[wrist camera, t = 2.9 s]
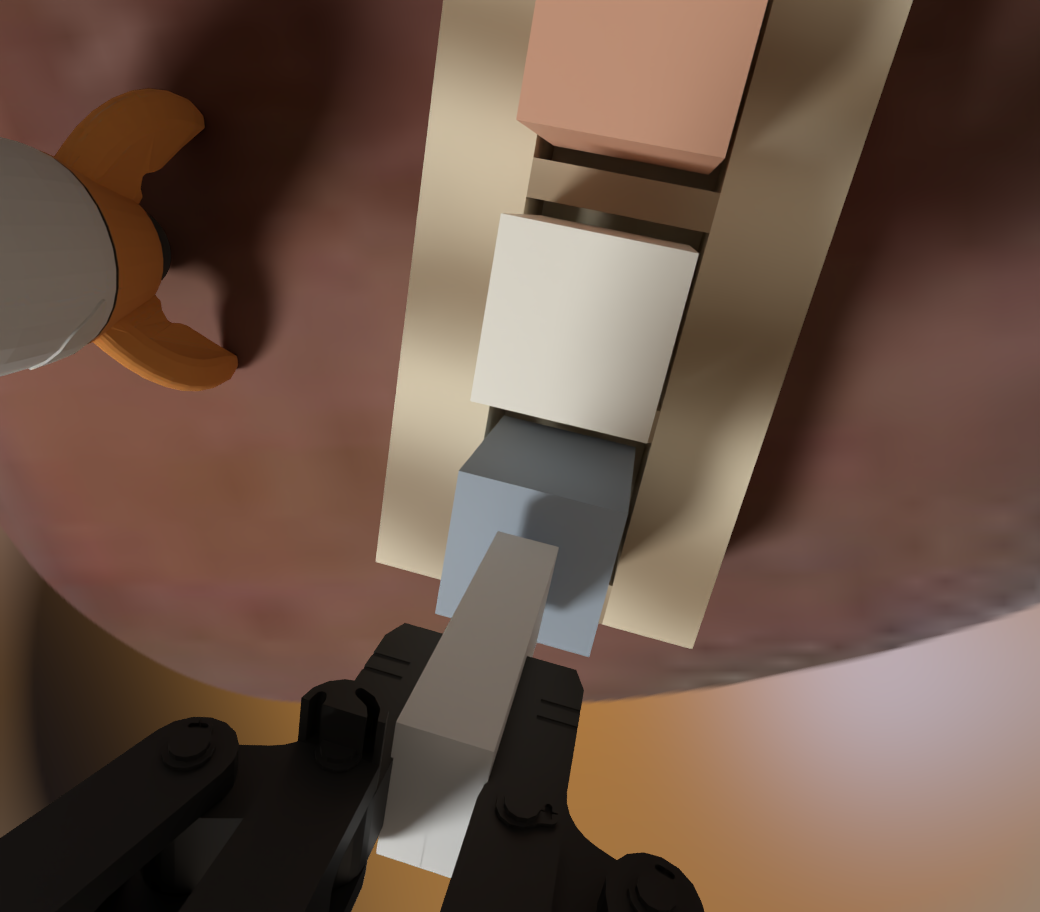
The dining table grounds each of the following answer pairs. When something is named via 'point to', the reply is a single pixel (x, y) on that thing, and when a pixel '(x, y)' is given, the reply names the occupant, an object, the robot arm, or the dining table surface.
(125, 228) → the toy rocket
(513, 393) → the key ivory
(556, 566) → the grey block
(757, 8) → the key terracotta
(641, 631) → the beige cube tray
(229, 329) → the dining table surface
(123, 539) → the dining table surface
